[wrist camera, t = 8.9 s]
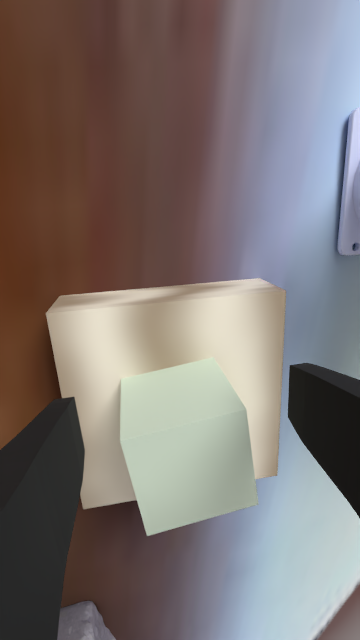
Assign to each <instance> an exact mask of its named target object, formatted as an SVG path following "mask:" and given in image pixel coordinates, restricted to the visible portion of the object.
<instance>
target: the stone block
mask: <svg viewBox="0 0 360 640" xmlns="http://www.w3.org/2000/svg"><path fill="white" fill-rule="evenodd" d="M57 640H116V639H115V638H114V636H113V635H112V634H111V632H110V630H109V629H108V628H106V627H105V625H104V623H103V618H102V615H101V614H100V613H99V612H98V610H97V608H96V606H95V604H94V603H93V602H92V601H84V602H80V603H76V604H73V605H70V606H67V607H63V608H60V617H59V627H58V637H57Z"/></svg>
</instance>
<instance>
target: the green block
mask: <svg viewBox="0 0 360 640" xmlns="http://www.w3.org/2000/svg"><path fill="white" fill-rule="evenodd" d="M120 443H121V446H122V450H123V453H124V457H125V460H126V464H127V467H128V471H129V474H130V478H131V481H132V485H133V488H134V492H135V495H136V499H137V502H138V506H139V509H140V513H141V516H142V520H143V523H144V527H145V530H146V534H147V536H149V535H153V534H156V533H160V532H163V531H167V530H170V529H174V528H177V527H181V526H184V525H188V524H191V523H195V522H198V521H202V520H205V519H209V518H212V517H216V516H219V515H223V514H226V513H230V512H233V511H237V510H240V509H244V508H247V507H251V506H254V505H258V497H257V489H256V481H255V473H254V466H253V458H252V450H251V442H250V434H249V426H248V418H247V410H246V408H245V406H244V405H243V403H242V401H241V400H240V398H239V397H238V395H237V394H236V392H235V390H234V389H233V387H232V386H231V384H230V383H229V381H228V379H227V378H226V376H225V375H224V373H223V371H222V370H221V368H220V367H219V365H218V364H217V362H216V360H215V359H214V357H212V358H208V359H204V360H199V361H195V362H191V363H187V364H182V365H178V366H174V367H170V368H165V369H161V370H157V371H153V372H148V373H144V374H140V375H136V376H131V377H127V378H123V379H121V410H120Z"/></svg>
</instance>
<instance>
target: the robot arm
mask: <svg viewBox="0 0 360 640" xmlns="http://www.w3.org/2000/svg"><path fill="white" fill-rule="evenodd" d="M354 243H355V245H356V246H355V248H354V250H352V245H353V244H354ZM337 248H338V252H339V253H340V254H341V255H347V256H348V255H359V254H360V107H359V108H356V109H355V110H353V111H352V112H351V114H350V117H349V124H348V135H347V147H346V158H345V169H344V180H343V191H342V202H341V214H340V225H339V236H338V247H337ZM288 418H289V420H290V421H291V423H292V425H293V427H294V429H295V430H296V432H297V434H298V435H299V437H300V439H301V441H302V442H303V443H304V445H305V446H306V447H307V449H308V450H309V451H310V453H311V454H312V455H313V457H314V458H315V459H316V461H317V462H318V463H319V464H320V466H321V467H322V468H323V470H324V471H325V472H326V473H327V475H328V476H329V477H330V479H331V480H332V481H333V482H334V484H335V485H336V486H337V488H338V489H339V490H340V491H341V493H342V494H343V495H344V497H345V498H346V499H347V501H348V502H349V503H350V505H351V506H352V508H353V509H354V510H355V512H356V513H357V515H358V516H359V518H360V380H358V379H355V378H352V377H349V376H346V375H343V374H341V373H338V372H335V371H332V370H329V369H326V368H323V367H320V366H317V365H313V364H309V363H303V364H296V365H290V373H289V400H288ZM84 459H85V448H84V442H83V437H82V432H81V427H80V422H79V417H78V412H77V407H76V402H75V397H68V398H61V399H54V400H53V401H52V402H51V403H50V404H49V405H48V406H47V407H46V408H45V409H44V410H43V411H42V412H41V413H39V414H38V415H37V416H36V417H35V418H34V419H33V420H32V421H31V422H30V423H29V424H28V425H27V426H26V427H25V428H24V429H23V430H22V431H21V432H20V433H19V434H18V435H17V436H16V437H15V438H14V439H12V440H11V441H10V442H9V443H8V444H7V445H6V446H4V447H3V448H2V449H1V450H0V640H57V637H58V627H59V617H60V608H61V599H62V590H63V581H64V573H65V567H66V561H67V555H68V550H69V545H70V541H71V536H72V531H73V526H74V521H75V517H76V512H77V507H78V502H79V497H80V492H81V487H82V482H83V472H84Z"/></svg>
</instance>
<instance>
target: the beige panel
mask: <svg viewBox="0 0 360 640" xmlns="http://www.w3.org/2000/svg"><path fill="white" fill-rule="evenodd" d="M285 303H286V290H283V289H281V288H279V287H277V286H275V285H273V284H271V283H268V282H266V281H264V280H262V279H260V278H257V279H246V280H234V281H223V282H212V283H201V284H189V285H178V286H167V287H155V288H144V289H133V290H121V291H110V292H99V293H87V294H76V295H65V296H59V298H58V299H57V300H56V301H55V303H54V304H53V305H52V306H51V308H50V309H49V310H48V311H47V313H46V316H47V322H48V327H49V332H50V337H51V343H52V348H53V353H54V358H55V364H56V369H57V374H58V379H59V385H60V390H61V395H62V398H68V397H75V402H76V407H77V412H78V417H79V422H80V427H81V432H82V437H83V442H84V448H85V459H84V472H83V482H82V487H81V492H80V495H81V500H82V506H83V509H88V508H94V507H100V506H105V505H111V504H117V503H122V502H128V501H134V500H137V499H136V495H135V492H134V488H133V485H132V481H131V478H130V474H129V471H128V467H127V464H126V460H125V457H124V453H123V450H122V446H121V443H120V410H121V379H123V378H127V377H131V376H136V375H140V374H144V373H148V372H153V371H157V370H161V369H165V368H170V367H174V366H178V365H182V364H187V363H191V362H195V361H199V360H204V359H208V358H212V357H214V359H215V360H216V362H217V364H218V365H219V367H220V368H221V370H222V371H223V373H224V375H225V376H226V378H227V379H228V381H229V383H230V384H231V386H232V387H233V389H234V390H235V392H236V394H237V395H238V397H239V398H240V400H241V401H242V403H243V405H244V406H245V408H246V410H247V418H248V426H249V434H250V442H251V450H252V458H253V466H254V473H255V479H260V478H265V477H271V476H277V470H278V449H279V428H280V407H281V387H282V366H283V345H284V324H285Z"/></svg>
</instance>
